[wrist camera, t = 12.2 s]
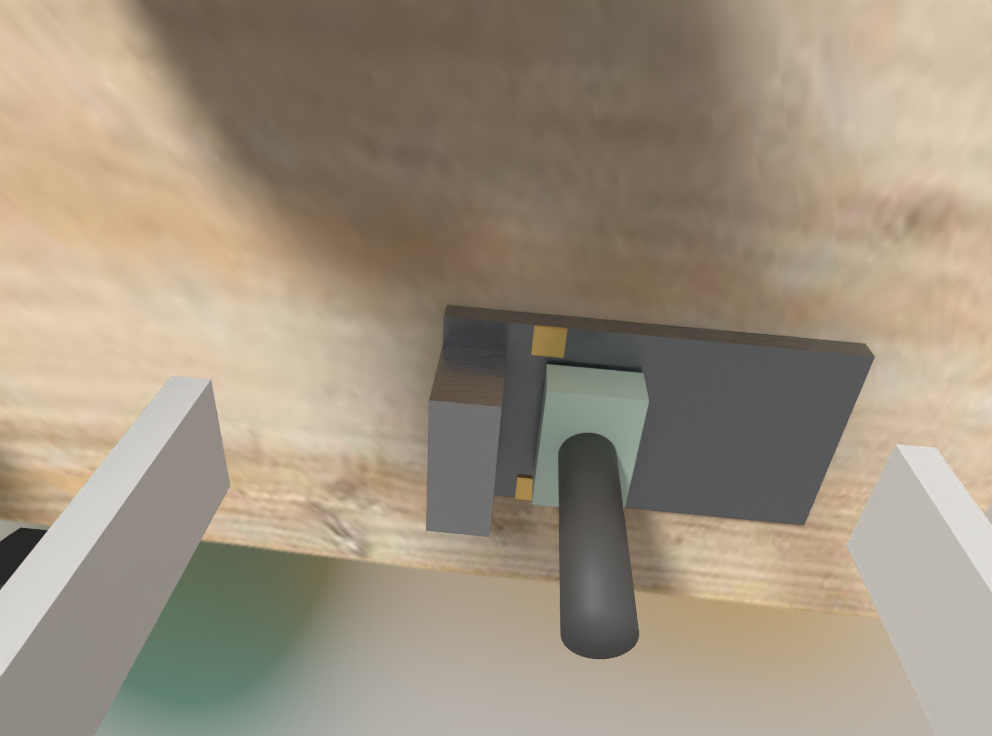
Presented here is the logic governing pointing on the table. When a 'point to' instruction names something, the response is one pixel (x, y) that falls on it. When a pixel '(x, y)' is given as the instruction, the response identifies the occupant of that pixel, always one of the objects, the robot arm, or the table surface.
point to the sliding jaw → (591, 499)
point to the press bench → (669, 419)
